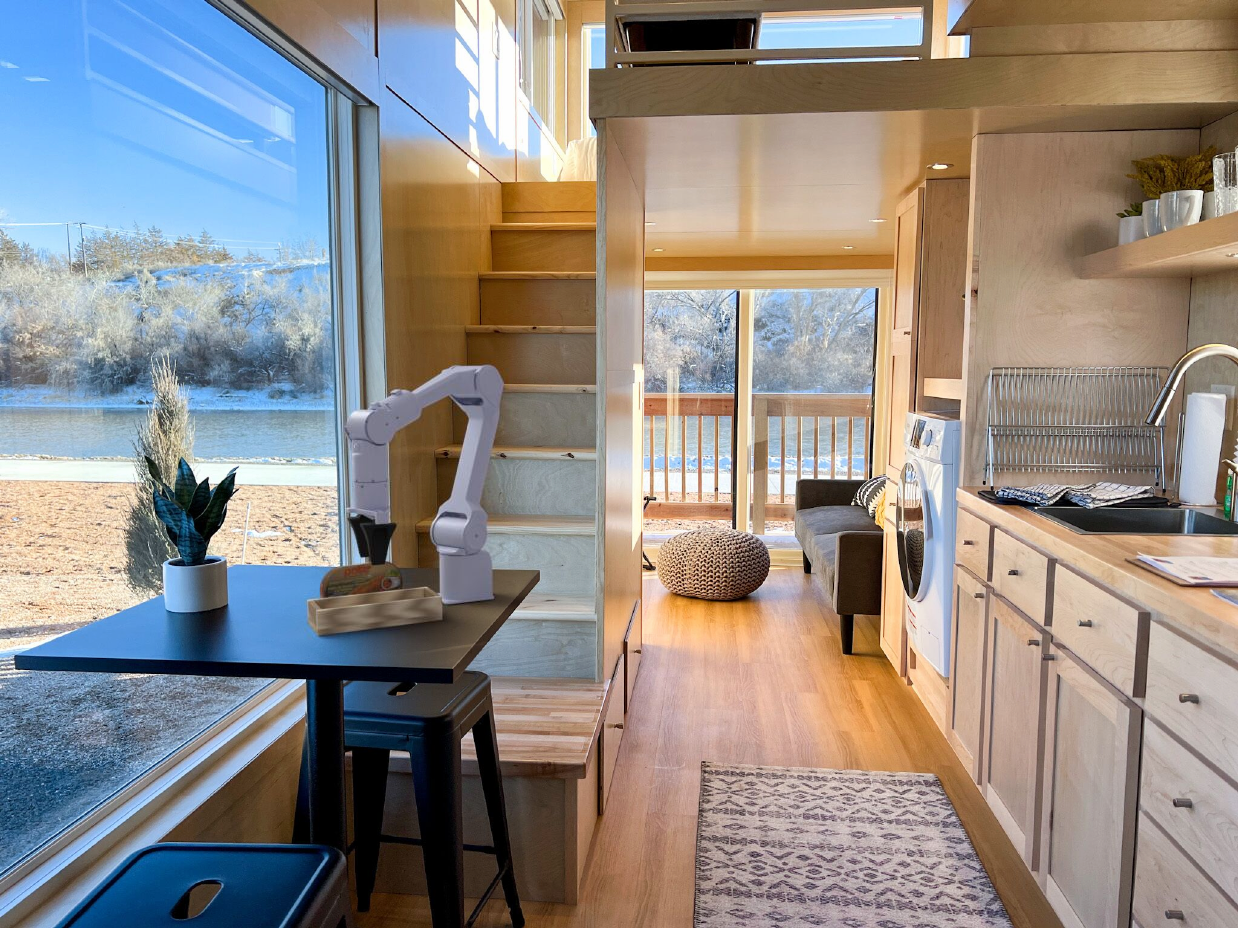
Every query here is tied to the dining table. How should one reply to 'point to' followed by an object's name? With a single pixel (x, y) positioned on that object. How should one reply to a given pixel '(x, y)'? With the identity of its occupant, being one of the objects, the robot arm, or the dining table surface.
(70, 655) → the dining table surface
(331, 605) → the crate
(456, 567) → the robot arm
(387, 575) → the tin
